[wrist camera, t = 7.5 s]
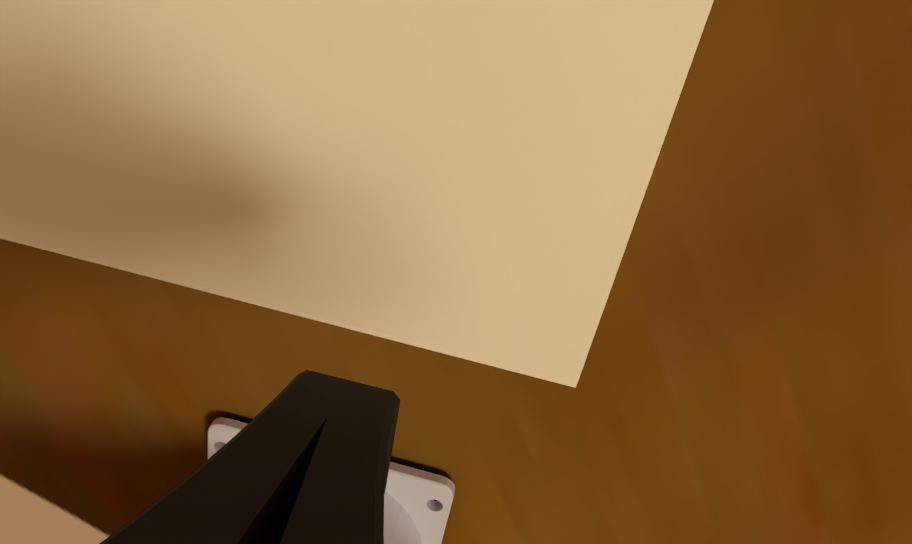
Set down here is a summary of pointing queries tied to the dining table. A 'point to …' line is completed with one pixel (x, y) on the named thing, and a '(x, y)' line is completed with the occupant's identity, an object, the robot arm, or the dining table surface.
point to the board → (350, 155)
